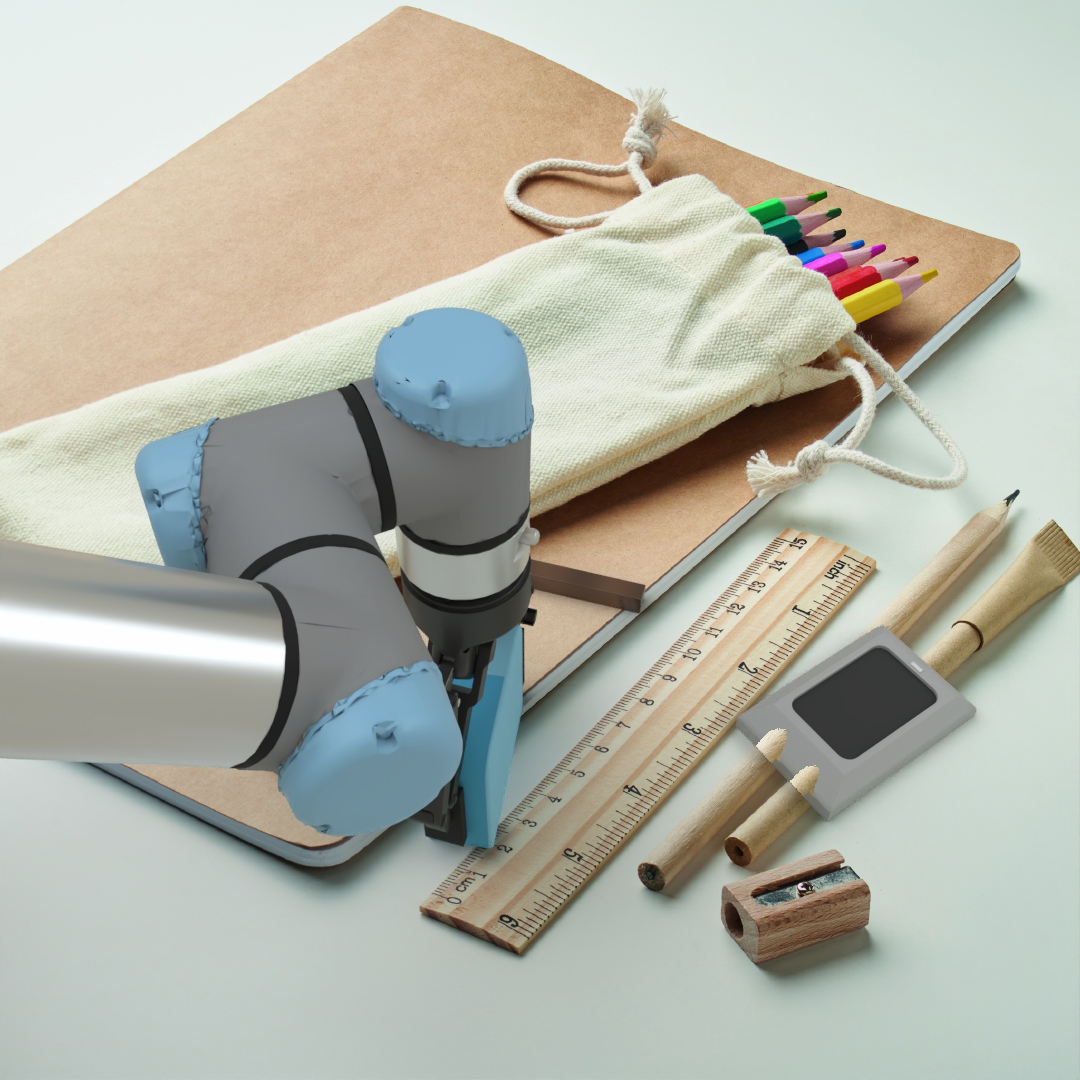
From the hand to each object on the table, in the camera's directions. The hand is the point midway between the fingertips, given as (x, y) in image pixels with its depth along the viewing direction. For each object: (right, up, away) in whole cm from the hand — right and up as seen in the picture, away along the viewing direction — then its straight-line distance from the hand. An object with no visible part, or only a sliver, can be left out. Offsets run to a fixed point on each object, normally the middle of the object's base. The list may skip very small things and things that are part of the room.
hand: (477, 755), depth 85 cm
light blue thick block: (0, -2, +2) cm, 3 cm away
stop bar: (+8, +10, +13) cm, 18 cm away
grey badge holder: (+28, +1, +5) cm, 28 cm away
